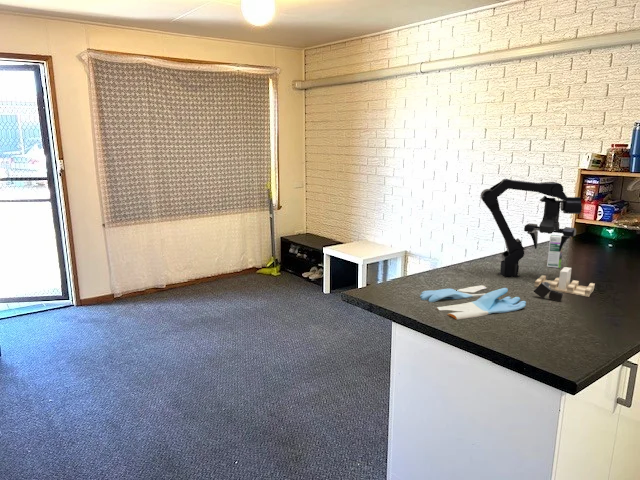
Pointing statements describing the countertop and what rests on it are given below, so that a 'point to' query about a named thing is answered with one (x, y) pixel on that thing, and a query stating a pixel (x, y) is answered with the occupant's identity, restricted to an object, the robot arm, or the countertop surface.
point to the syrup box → (554, 252)
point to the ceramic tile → (564, 278)
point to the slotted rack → (572, 288)
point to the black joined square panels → (544, 290)
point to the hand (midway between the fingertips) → (547, 250)
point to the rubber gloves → (476, 308)
